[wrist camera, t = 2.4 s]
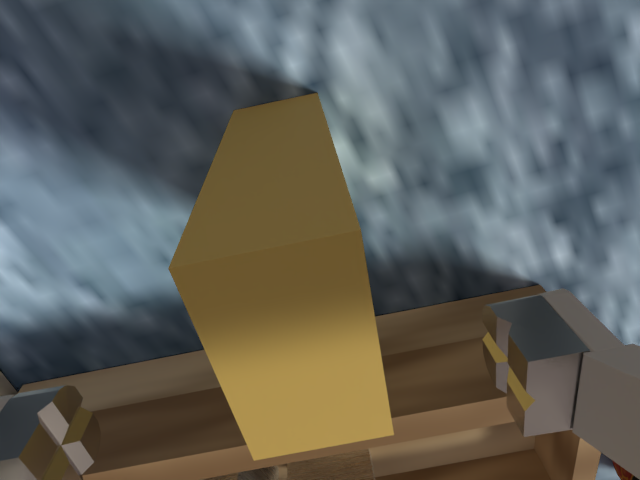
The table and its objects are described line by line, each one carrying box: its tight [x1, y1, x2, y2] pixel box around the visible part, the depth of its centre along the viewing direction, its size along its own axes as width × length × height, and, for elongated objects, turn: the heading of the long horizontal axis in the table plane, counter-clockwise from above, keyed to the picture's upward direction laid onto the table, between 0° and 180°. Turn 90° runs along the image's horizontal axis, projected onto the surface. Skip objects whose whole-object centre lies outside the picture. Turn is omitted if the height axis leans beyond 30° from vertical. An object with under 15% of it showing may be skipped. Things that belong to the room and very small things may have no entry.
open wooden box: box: [17, 285, 601, 480], centre depth 21 cm, size 10×25×6 cm, turn 101°
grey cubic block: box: [287, 448, 376, 480], centre depth 19 cm, size 4×4×4 cm
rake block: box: [169, 93, 394, 461], centre depth 12 cm, size 5×3×10 cm, turn 11°
